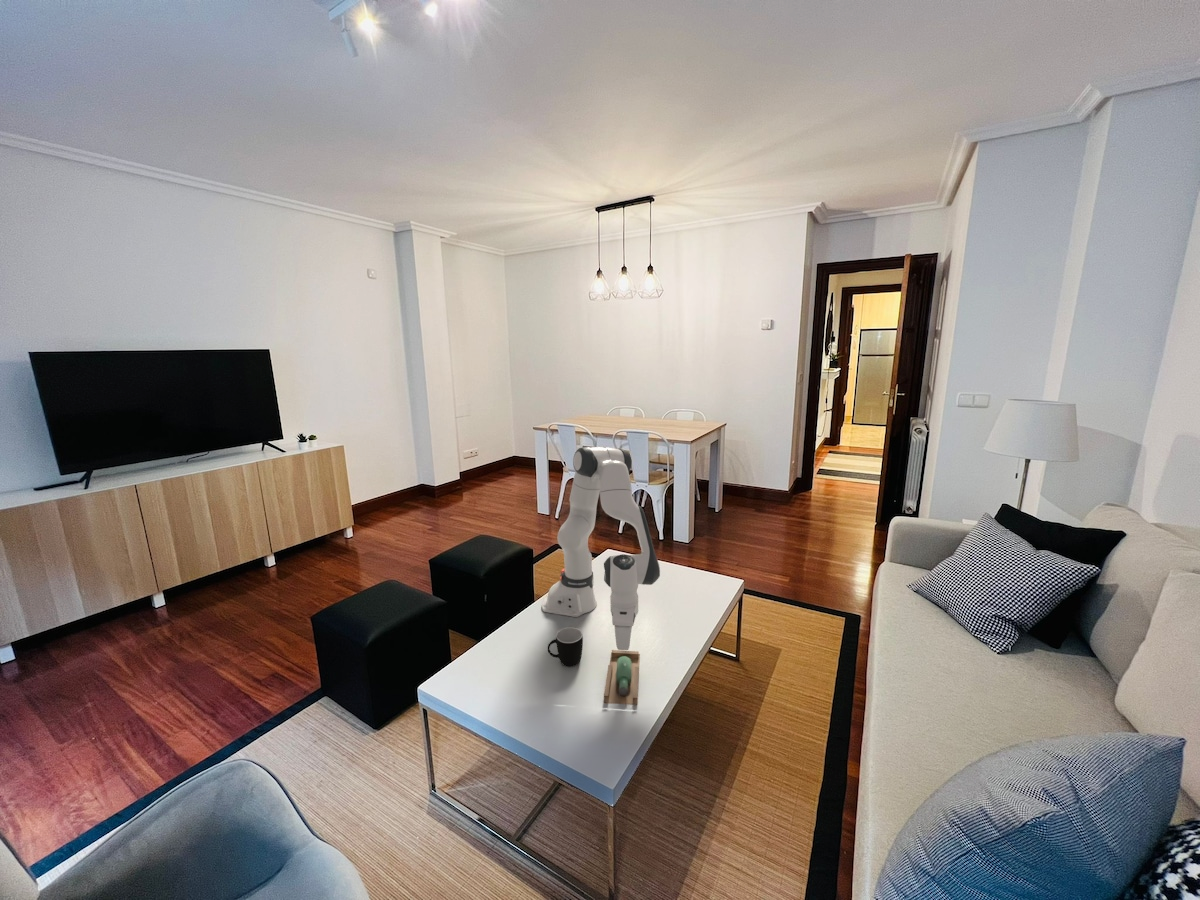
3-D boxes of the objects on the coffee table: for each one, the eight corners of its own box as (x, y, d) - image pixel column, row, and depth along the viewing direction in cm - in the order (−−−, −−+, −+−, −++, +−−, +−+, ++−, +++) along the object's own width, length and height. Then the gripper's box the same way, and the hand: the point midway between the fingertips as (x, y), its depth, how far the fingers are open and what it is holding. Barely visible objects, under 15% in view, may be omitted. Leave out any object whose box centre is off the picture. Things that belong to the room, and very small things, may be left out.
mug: (582, 651, 168) (581, 626, 166) (584, 668, 160) (583, 642, 157) (548, 654, 167) (547, 628, 165) (548, 671, 159) (546, 644, 156)
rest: (603, 703, 144) (603, 695, 144) (611, 652, 167) (611, 646, 167) (637, 705, 143) (637, 697, 142) (639, 654, 166) (640, 647, 166)
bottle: (616, 668, 159) (615, 698, 146) (617, 655, 158) (615, 685, 144) (631, 669, 159) (630, 700, 145) (631, 656, 157) (631, 686, 144)
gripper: (616, 589, 163) (617, 625, 166) (611, 623, 143) (612, 664, 146) (635, 589, 162) (635, 626, 165) (633, 624, 142) (633, 665, 145)
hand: (624, 644), depth 155 cm, fingers closed
